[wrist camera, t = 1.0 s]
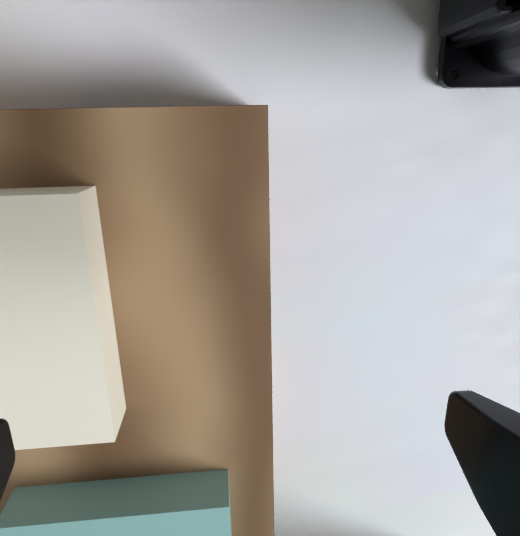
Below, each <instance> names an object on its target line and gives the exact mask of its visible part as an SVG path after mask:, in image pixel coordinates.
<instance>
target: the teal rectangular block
mask: <svg viewBox="0 0 520 536" xmlns="http://www.w3.org/2000/svg"><path fill="white" fill-rule="evenodd" d="M0 536H232V531H231V513H230V495H229V476H228V469H224V470H212V471H201V472H189V473H178V474H166V475H155V476H143V477H132V478H120V479H108V480H97V481H85V482H74V483H62V484H51V485H39V486H28V487H16V488H15V489H14V491H13V493H12V495H11V496H10V498H9V500H8V502H7V503H6V505H5V507H4V509H3V510H2V512H1V514H0Z"/></svg>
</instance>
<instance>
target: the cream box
mask: <svg viewBox="0 0 520 536" xmlns="http://www.w3.org/2000/svg"><path fill="white" fill-rule="evenodd" d="M125 411H126V403H125V396H124V389H123V381H122V374H121V367H120V360H119V352H118V345H117V338H116V330H115V323H114V316H113V309H112V301H111V294H110V287H109V280H108V272H107V265H106V258H105V251H104V243H103V236H102V229H101V222H100V214H99V207H98V200H97V192H96V186H69V187H37V188H6V189H0V418H3V419H5V420H7V422H8V424H9V427H10V431H11V435H12V440H13V444H14V449H15V450H23V449H35V448H48V447H60V446H73V445H85V444H98V443H110V442H115V440H116V437H117V434H118V431H119V428H120V426H121V423H122V420H123V417H124V414H125Z"/></svg>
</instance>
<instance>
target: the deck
mask: <svg viewBox="0 0 520 536" xmlns="http://www.w3.org/2000/svg"><path fill="white" fill-rule="evenodd" d="M69 186H96V192H97V200H98V207H99V214H100V222H101V229H102V236H103V243H104V251H105V258H106V265H107V272H108V280H109V287H110V294H111V301H112V309H113V316H114V323H115V330H116V338H117V345H118V352H119V360H120V367H121V374H122V381H123V389H124V396H125V403H126V411H125V414H124V417H123V420H122V423H121V426H120V428H119V431H118V434H117V437H116V440H115V442H110V443H98V444H85V445H73V446H60V447H48V448H35V449H23V450H15V463H14V467H13V470H12V472H11V475H10V477H9V480H8V483H7V485H6V488H5V491H4V493H3V496H2V499H1V501H0V514H1V512H2V510H3V509H4V507H5V505H6V503H7V502H8V500H9V498H10V496H11V495H12V493H13V491H14V489H15V488H16V487H28V486H39V485H51V484H62V483H74V482H85V481H97V480H108V479H120V478H132V477H143V476H155V475H166V474H178V473H189V472H201V471H212V470H224V469H228V476H229V495H230V513H231V531H232V536H274V491H273V424H272V357H271V291H270V224H269V157H268V105H236V106H179V107H122V108H65V109H9V110H0V189H6V188H37V187H69Z"/></svg>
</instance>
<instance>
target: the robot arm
mask: <svg viewBox="0 0 520 536" xmlns="http://www.w3.org/2000/svg"><path fill="white" fill-rule="evenodd" d="M438 32H439V34H440V36H441V45H440V55H439V66H438V82H439V84H440V85H441V86H442V87H443V88H512V87H520V0H441V1H440V12H439V22H438ZM450 70H453V72H454V79H453V80H452V81H450V80H449V79H448V72H449V71H450ZM445 432H446V436H447V438H448V440H449V442H450V445H451V447H452V449H453V451H454V453H455V455H456V458H457V460H458V462H459V464H460V466H461V468H462V470H463V473H464V475H465V477H466V479H467V481H468V483H469V486H470V488H471V490H472V492H473V494H474V496H475V498H476V500H477V502H478V504H479V506H480V508H481V509H482V511H483V513H484V515H485V517H486V518H487V520H488V522H489V523H490V525H491V527H492V529H493V530H494V532H495V534H496V535H497V536H520V413H518V412H516V411H514V410H512V409H510V408H508V407H505V406H503V405H501V404H499V403H497V402H495V401H492V400H490V399H488V398H486V397H484V396H482V395H480V394H477V393H475V392H473V391H469V390H468V391H454V392H452V393H451V394H450V395H449V398H448V404H447V411H446V417H445ZM14 463H15V449H14V444H13V440H12V435H11V431H10V427H9V424H8V422H7V420H5V419H3V418H0V501H1V499H2V496H3V493H4V491H5V488H6V485H7V483H8V480H9V477H10V475H11V472H12V470H13V467H14Z"/></svg>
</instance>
